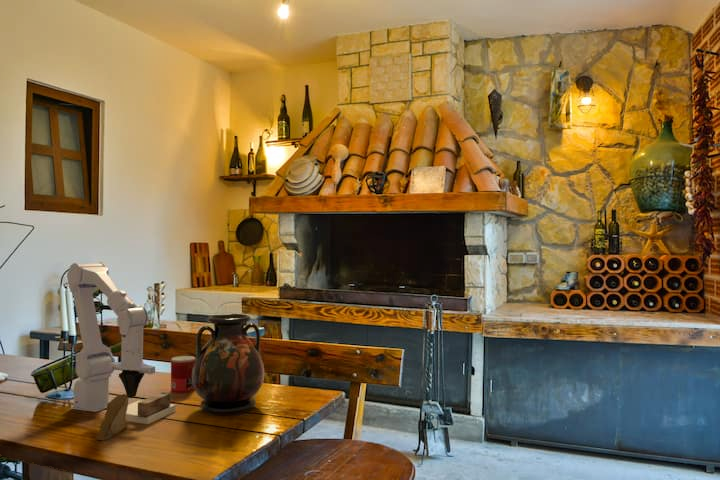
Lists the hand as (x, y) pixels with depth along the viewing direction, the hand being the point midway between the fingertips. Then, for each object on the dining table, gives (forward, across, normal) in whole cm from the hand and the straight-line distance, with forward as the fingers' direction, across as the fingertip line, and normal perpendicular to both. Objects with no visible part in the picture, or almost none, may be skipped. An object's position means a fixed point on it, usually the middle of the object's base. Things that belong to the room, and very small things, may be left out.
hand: (131, 396), depth 155 cm
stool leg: (+4, -6, -3) cm, 8 cm away
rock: (+6, -4, +12) cm, 14 cm away
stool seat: (+6, -2, -3) cm, 7 cm away
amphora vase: (+6, -21, -17) cm, 28 cm away
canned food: (+6, +4, -29) cm, 30 cm away
